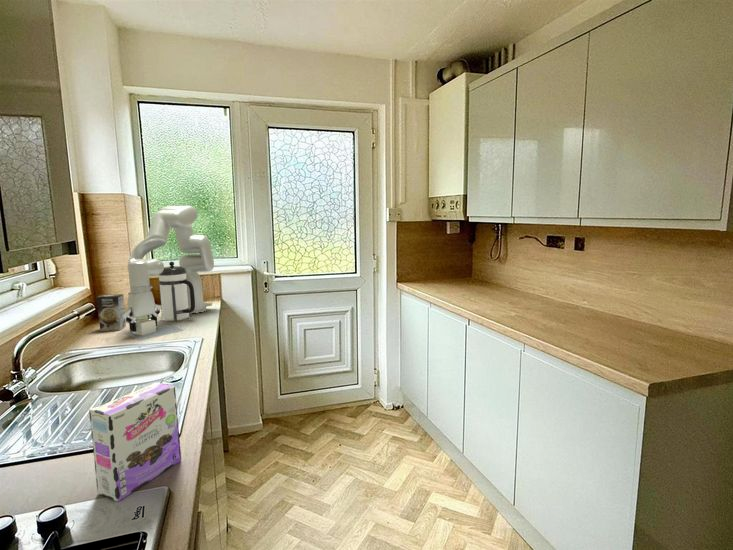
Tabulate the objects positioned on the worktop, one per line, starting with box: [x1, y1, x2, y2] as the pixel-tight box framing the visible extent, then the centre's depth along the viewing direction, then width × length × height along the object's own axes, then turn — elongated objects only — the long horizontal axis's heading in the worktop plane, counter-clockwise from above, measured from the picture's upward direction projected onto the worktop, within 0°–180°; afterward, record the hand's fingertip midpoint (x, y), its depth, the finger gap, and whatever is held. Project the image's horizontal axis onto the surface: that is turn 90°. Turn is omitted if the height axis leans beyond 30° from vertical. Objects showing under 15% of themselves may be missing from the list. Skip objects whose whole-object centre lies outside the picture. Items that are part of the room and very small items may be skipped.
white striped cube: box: [133, 319, 157, 335], centre depth 175 cm, size 6×6×5 cm
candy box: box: [88, 381, 182, 502], centre depth 77 cm, size 14×6×16 cm, turn 155°
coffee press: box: [158, 261, 195, 322], centre depth 198 cm, size 17×16×30 cm
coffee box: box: [96, 293, 127, 332], centre depth 187 cm, size 9×6×16 cm
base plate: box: [125, 324, 186, 341], centre depth 176 cm, size 19×16×2 cm
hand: (144, 328), depth 175 cm, fingers open, 9 cm apart
